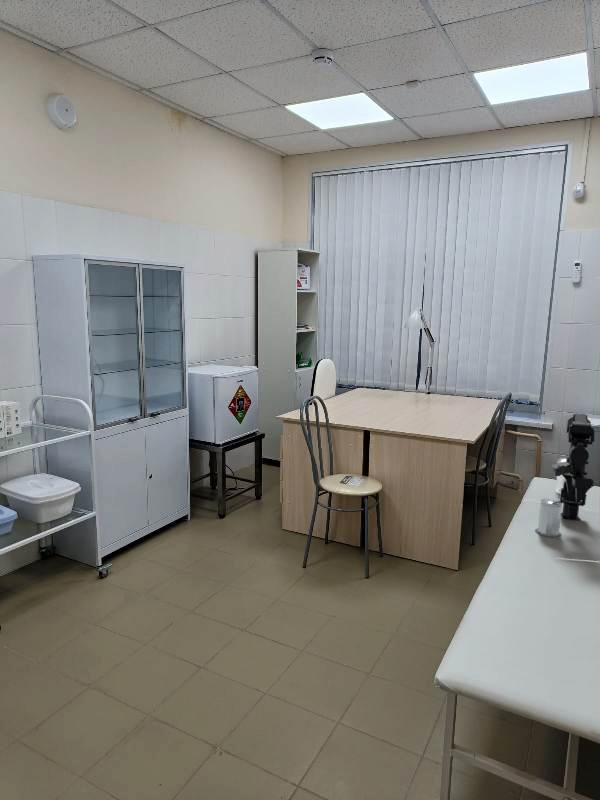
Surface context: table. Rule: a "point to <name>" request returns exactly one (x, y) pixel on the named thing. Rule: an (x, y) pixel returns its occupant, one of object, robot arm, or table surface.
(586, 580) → the table surface
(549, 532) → the grey cup
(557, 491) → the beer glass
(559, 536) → the rubber pad
